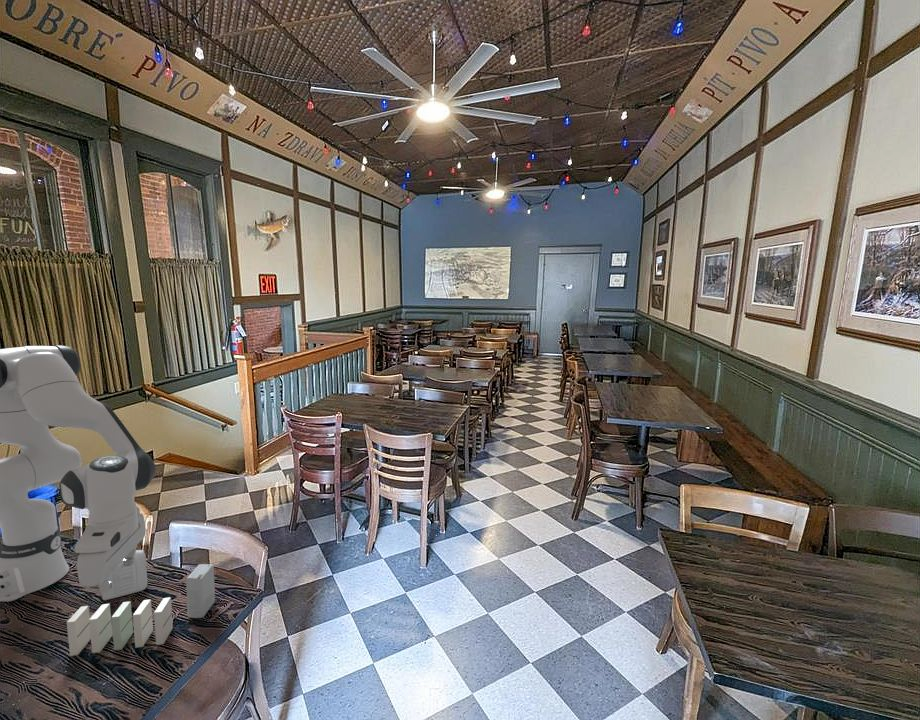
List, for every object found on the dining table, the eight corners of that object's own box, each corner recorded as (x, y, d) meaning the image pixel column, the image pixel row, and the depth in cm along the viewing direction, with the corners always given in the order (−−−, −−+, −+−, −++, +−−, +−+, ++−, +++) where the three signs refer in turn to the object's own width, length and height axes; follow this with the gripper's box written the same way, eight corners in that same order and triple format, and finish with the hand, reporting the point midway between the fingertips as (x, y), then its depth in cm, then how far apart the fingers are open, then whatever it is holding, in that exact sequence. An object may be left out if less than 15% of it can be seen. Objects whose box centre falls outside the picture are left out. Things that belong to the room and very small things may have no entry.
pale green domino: (133, 632, 104) (130, 601, 103) (121, 649, 99) (119, 616, 98) (125, 633, 104) (123, 602, 102) (114, 650, 99) (111, 617, 97)
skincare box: (200, 602, 115) (198, 563, 114) (216, 602, 115) (214, 563, 114) (186, 618, 109) (184, 578, 107) (203, 619, 109) (201, 578, 108)
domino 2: (92, 653, 98) (89, 619, 96) (105, 636, 103) (102, 604, 101) (100, 652, 98) (97, 618, 97) (112, 635, 103) (109, 603, 102)
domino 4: (156, 645, 101) (153, 612, 99) (165, 629, 106) (163, 597, 104) (163, 644, 101) (161, 611, 100) (172, 628, 106) (170, 597, 105)
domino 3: (135, 647, 100) (132, 615, 98) (145, 631, 105) (143, 600, 103) (142, 646, 100) (140, 614, 99) (153, 630, 105) (150, 599, 104)
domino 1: (70, 655, 97) (66, 622, 95) (84, 638, 102) (80, 606, 100) (78, 654, 97) (74, 621, 96) (91, 637, 102) (88, 605, 101)
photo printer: (148, 581, 122) (145, 543, 120) (147, 590, 119) (144, 551, 117) (103, 593, 117) (100, 554, 115) (100, 603, 113) (97, 562, 111)
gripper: (123, 503, 106) (127, 551, 108) (68, 551, 86) (74, 609, 88) (151, 502, 107) (154, 549, 110) (103, 549, 88) (107, 606, 90)
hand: (118, 577), depth 99 cm, fingers open, 8 cm apart
